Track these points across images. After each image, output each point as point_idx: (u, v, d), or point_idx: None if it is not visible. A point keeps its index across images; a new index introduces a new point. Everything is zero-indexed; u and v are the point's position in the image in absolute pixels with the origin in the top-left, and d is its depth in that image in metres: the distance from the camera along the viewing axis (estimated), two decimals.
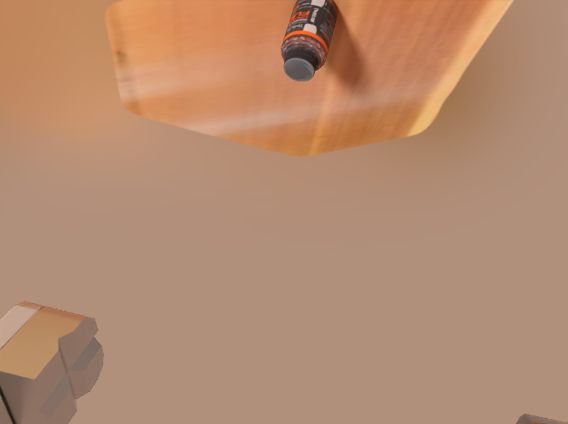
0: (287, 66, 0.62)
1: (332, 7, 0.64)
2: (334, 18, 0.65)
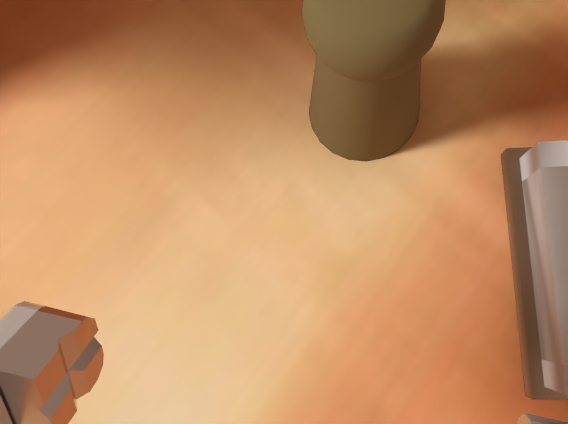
0: None
1: None
2: None
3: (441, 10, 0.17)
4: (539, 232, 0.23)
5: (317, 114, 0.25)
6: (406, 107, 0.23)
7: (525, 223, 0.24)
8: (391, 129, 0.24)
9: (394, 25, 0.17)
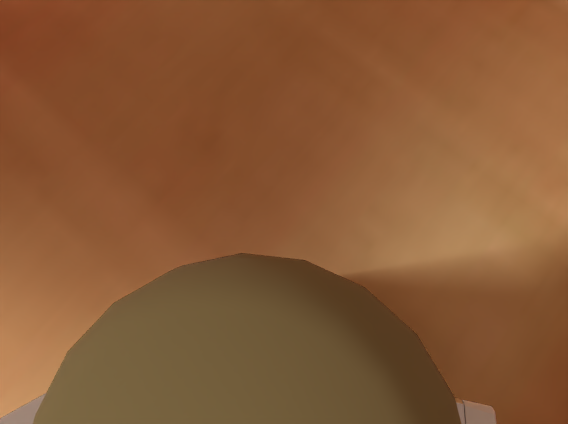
0: None
1: None
2: None
3: None
4: None
5: None
6: None
7: None
8: None
9: None
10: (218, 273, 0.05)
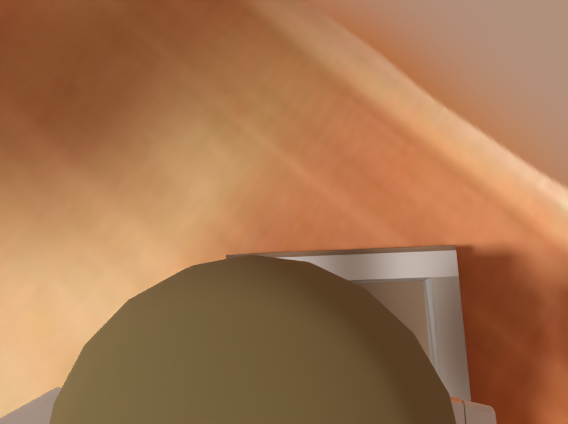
0: None
1: None
2: None
3: None
4: None
5: None
6: None
7: None
8: None
9: None
10: (228, 273, 0.06)
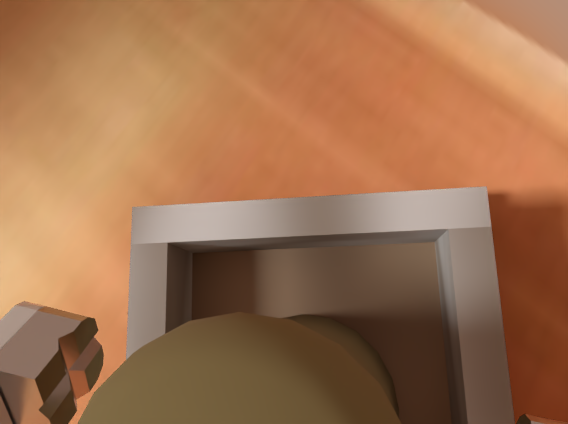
0: None
1: None
2: None
3: None
4: None
5: None
6: None
7: None
8: None
9: None
10: (218, 333, 0.07)
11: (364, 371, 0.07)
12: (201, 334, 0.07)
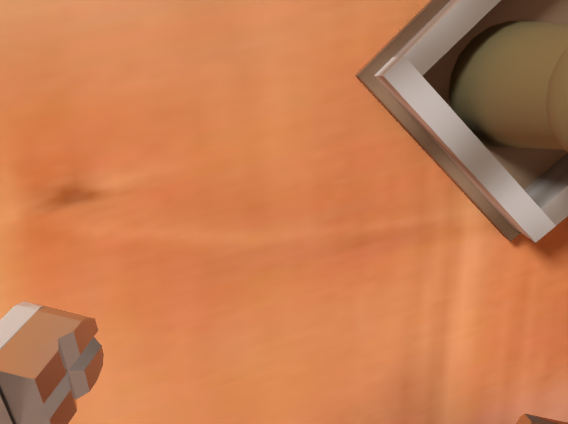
0: None
1: None
2: None
3: None
4: None
5: (479, 64, 0.22)
6: None
7: None
8: (511, 144, 0.22)
9: None
10: None
11: None
12: None
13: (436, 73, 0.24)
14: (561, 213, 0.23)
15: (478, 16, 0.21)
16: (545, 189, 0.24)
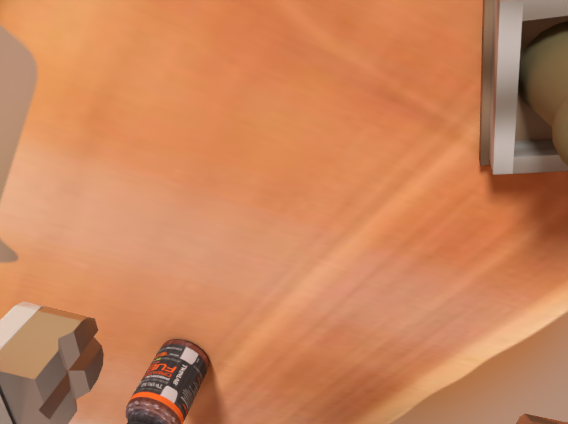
0: None
1: (204, 365, 0.55)
2: (202, 377, 0.55)
3: None
4: None
5: (561, 41, 0.28)
6: None
7: None
8: (532, 106, 0.30)
9: None
10: None
11: None
12: None
13: (533, 24, 0.30)
14: (522, 169, 0.33)
15: None
16: (526, 149, 0.33)
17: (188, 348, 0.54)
